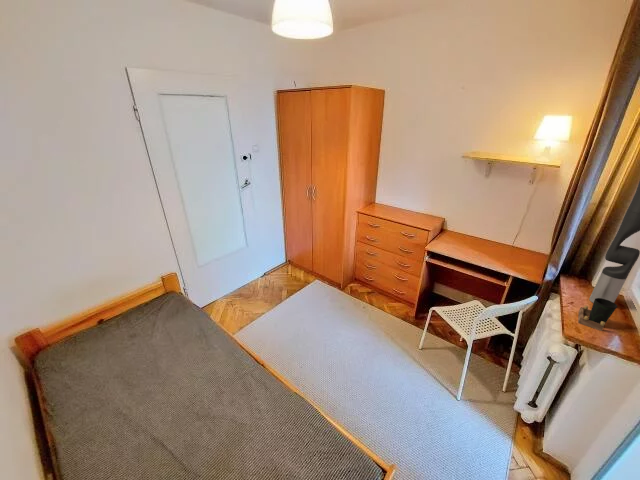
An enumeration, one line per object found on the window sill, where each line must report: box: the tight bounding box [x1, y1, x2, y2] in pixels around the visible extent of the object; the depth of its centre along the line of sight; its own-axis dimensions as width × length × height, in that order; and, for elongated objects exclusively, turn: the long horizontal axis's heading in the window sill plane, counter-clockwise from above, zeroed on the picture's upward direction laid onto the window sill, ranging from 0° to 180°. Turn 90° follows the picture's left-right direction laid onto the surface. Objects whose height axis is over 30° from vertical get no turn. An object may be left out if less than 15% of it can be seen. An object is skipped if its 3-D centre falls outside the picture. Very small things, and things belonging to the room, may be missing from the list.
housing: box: [577, 305, 606, 332], centre depth 133 cm, size 13×8×4 cm, turn 138°
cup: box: [588, 298, 618, 324], centre depth 130 cm, size 8×8×12 cm
